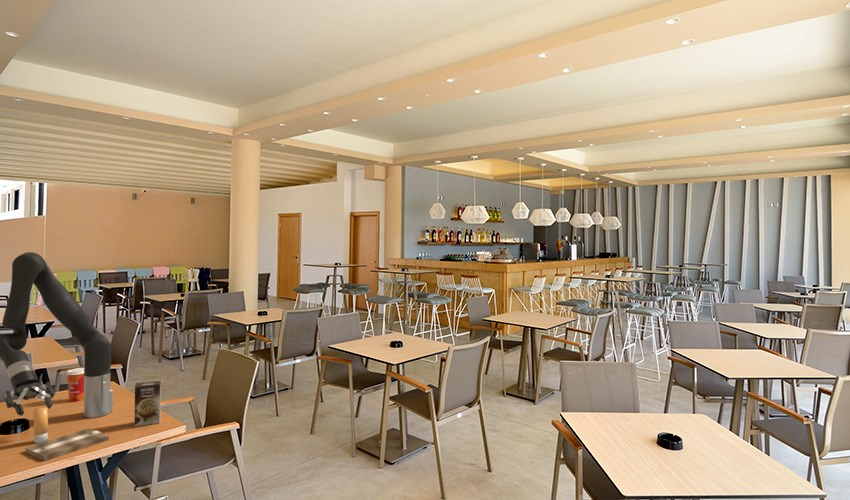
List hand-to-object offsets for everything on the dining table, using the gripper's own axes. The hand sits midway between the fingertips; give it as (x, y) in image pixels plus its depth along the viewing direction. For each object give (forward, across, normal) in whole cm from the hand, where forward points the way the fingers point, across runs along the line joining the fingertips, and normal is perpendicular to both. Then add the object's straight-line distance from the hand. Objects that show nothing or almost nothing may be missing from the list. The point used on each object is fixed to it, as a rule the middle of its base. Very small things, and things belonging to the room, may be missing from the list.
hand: (36, 410), depth 175 cm
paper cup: (-18, +30, +34) cm, 49 cm away
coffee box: (+21, +30, -6) cm, 37 cm away
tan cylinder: (+10, 0, +5) cm, 11 cm away
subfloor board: (+19, +3, -4) cm, 20 cm away
